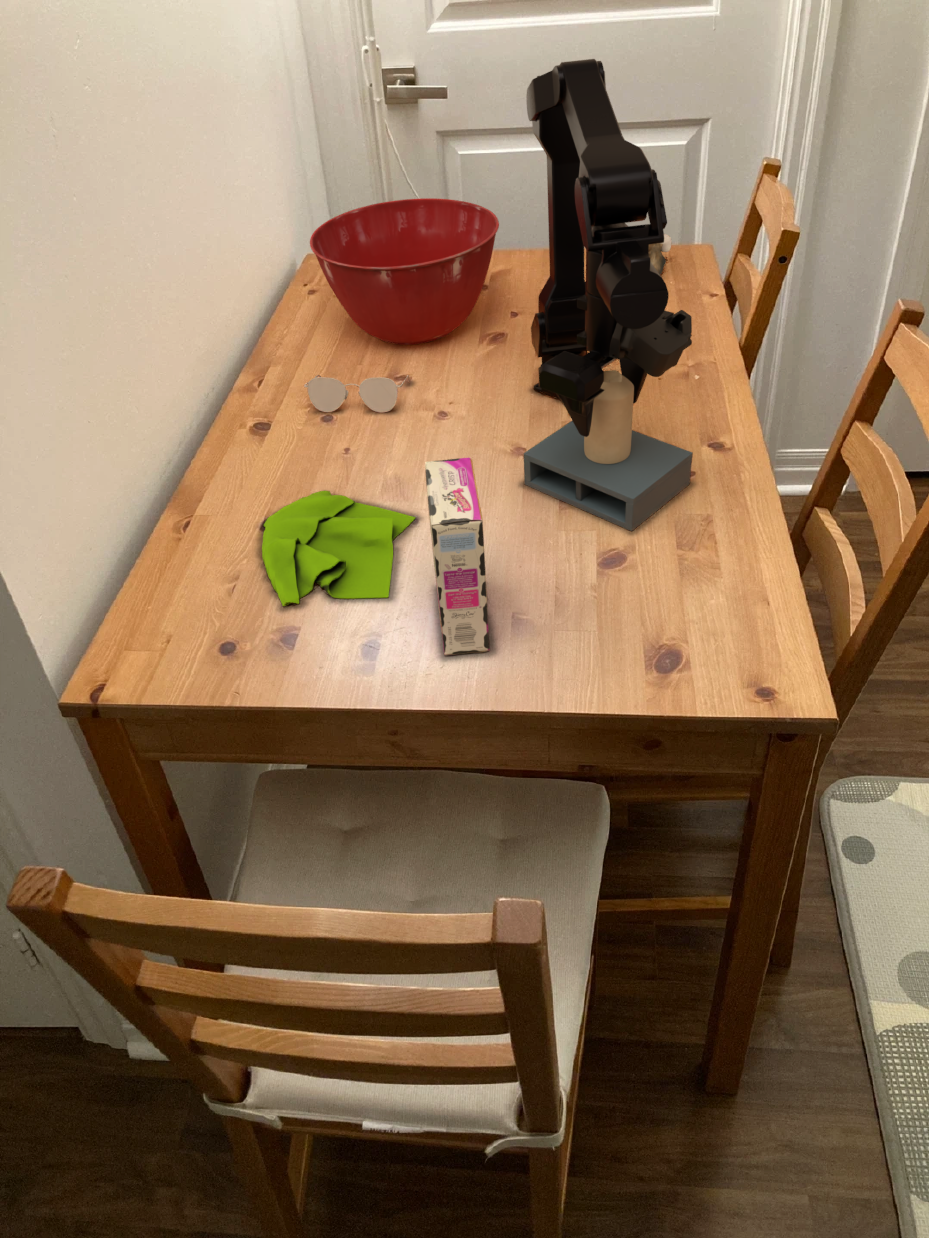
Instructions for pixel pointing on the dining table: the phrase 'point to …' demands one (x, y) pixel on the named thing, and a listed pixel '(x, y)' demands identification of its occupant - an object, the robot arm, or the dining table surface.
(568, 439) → the shelf
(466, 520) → the candy bar box
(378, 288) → the mixing bowl
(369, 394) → the sunglasses
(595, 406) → the candle
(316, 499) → the cloth
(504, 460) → the dining table surface
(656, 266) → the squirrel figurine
